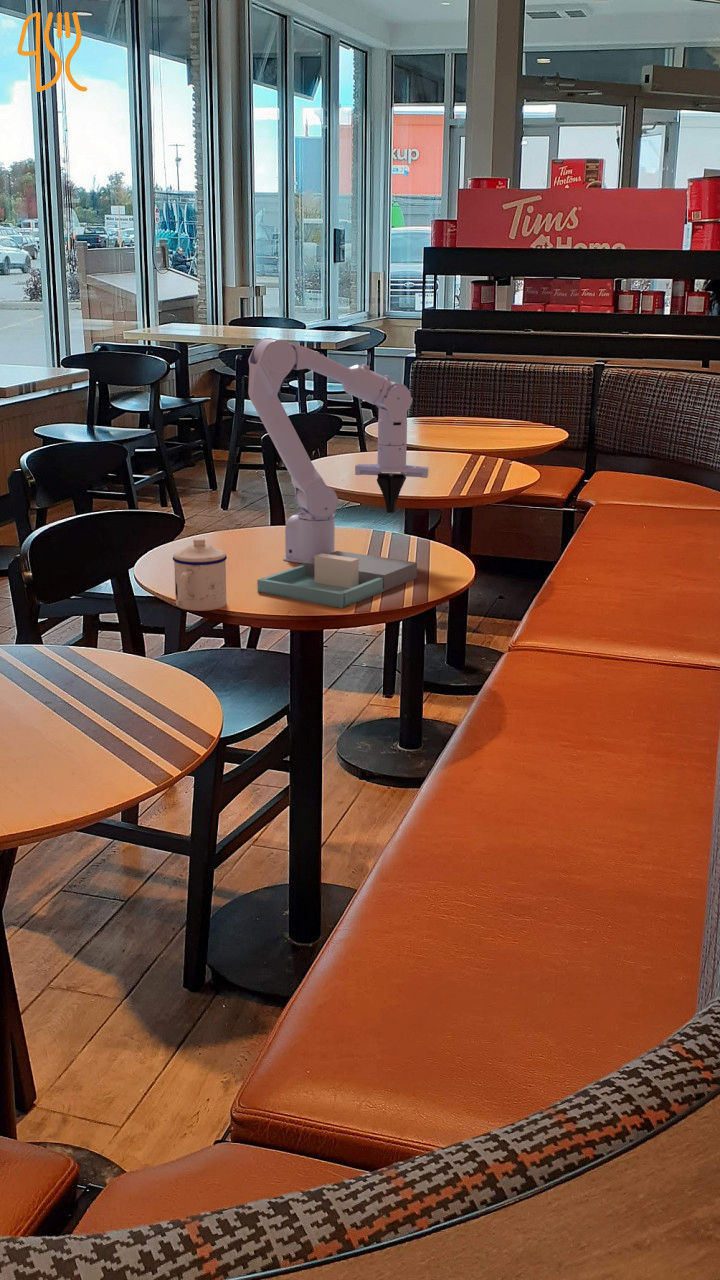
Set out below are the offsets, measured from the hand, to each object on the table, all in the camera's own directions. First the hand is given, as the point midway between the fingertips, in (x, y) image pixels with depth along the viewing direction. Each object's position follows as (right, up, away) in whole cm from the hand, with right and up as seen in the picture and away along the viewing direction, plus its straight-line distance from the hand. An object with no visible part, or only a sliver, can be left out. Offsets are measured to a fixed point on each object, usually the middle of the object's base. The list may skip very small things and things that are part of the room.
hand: (390, 511), depth 229 cm
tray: (-13, -17, -24) cm, 33 cm away
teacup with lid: (-34, -20, -35) cm, 53 cm away
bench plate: (-6, -14, -14) cm, 21 cm away
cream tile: (-10, -13, -20) cm, 26 cm away
